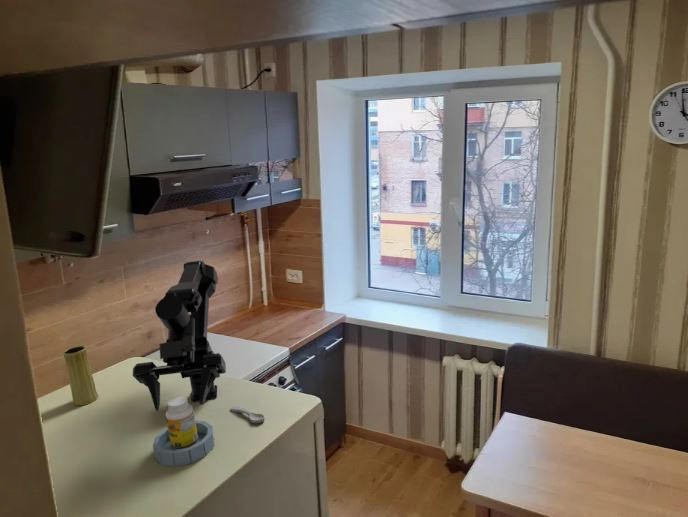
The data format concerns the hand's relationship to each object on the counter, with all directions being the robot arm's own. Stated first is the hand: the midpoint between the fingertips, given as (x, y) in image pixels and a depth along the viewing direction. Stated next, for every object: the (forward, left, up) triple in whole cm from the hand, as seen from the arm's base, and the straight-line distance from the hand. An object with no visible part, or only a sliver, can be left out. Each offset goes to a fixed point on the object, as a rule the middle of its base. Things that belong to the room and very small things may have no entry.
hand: (179, 407), depth 110 cm
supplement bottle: (+1, 0, -9) cm, 9 cm away
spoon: (-8, +13, -10) cm, 18 cm away
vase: (-33, -28, -9) cm, 44 cm away
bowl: (+1, 0, -9) cm, 9 cm away
